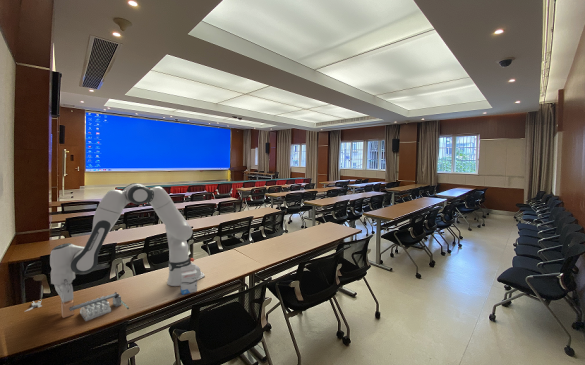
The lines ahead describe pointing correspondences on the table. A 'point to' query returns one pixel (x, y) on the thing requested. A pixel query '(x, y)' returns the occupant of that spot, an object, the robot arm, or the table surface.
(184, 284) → the ink box
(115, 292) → the strap
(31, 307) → the pliers
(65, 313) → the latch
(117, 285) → the table surface
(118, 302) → the heatsink
